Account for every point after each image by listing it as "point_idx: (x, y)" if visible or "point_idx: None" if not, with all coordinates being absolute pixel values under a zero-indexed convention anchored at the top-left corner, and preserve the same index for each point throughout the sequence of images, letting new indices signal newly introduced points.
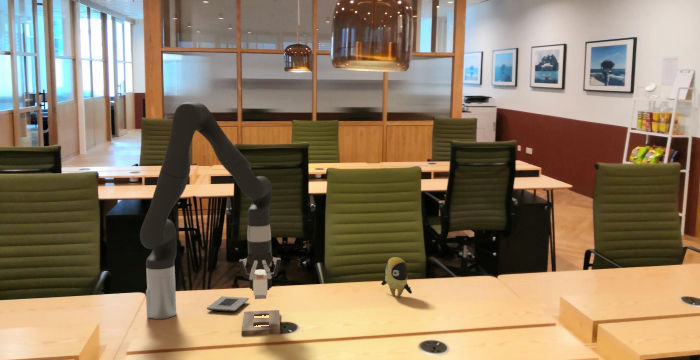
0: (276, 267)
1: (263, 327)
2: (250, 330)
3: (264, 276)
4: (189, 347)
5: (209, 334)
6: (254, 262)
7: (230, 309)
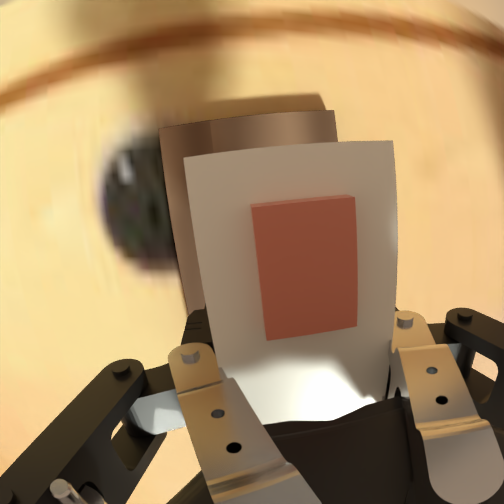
0: (69, 437)
1: (238, 145)
2: (295, 112)
3: (246, 314)
4: (462, 46)
5: (440, 143)
6: (486, 452)
7: None
